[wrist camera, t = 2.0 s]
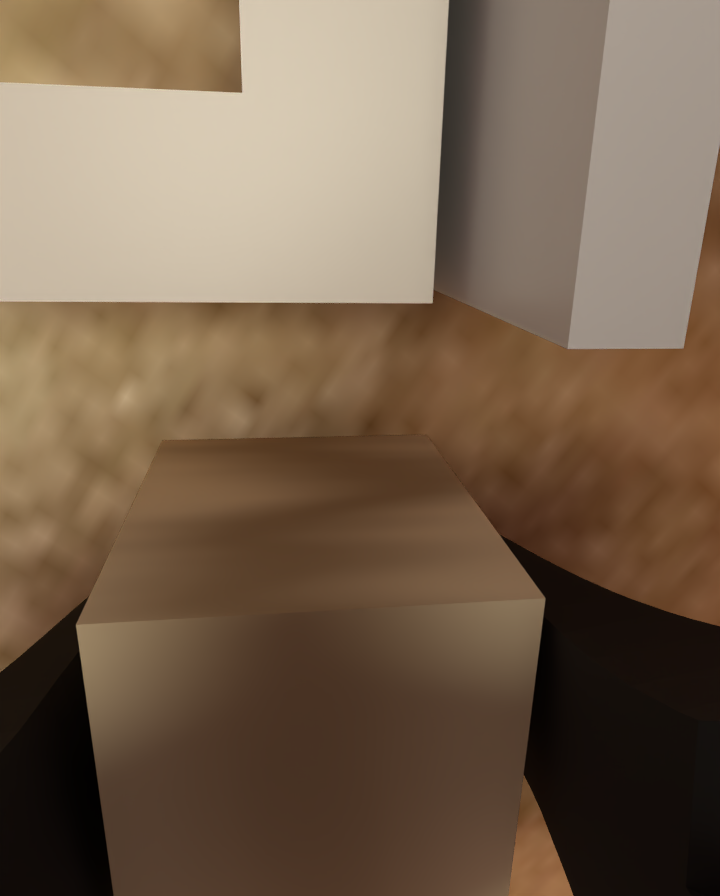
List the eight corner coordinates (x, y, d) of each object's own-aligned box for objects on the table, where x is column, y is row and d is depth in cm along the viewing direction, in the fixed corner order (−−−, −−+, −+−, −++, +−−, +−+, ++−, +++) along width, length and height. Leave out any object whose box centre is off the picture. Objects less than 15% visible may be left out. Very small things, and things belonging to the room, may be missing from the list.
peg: (425, 434, 13) (544, 597, 7) (414, 650, 15) (504, 918, 9) (162, 439, 12) (75, 623, 7) (181, 665, 14) (122, 965, 8)
